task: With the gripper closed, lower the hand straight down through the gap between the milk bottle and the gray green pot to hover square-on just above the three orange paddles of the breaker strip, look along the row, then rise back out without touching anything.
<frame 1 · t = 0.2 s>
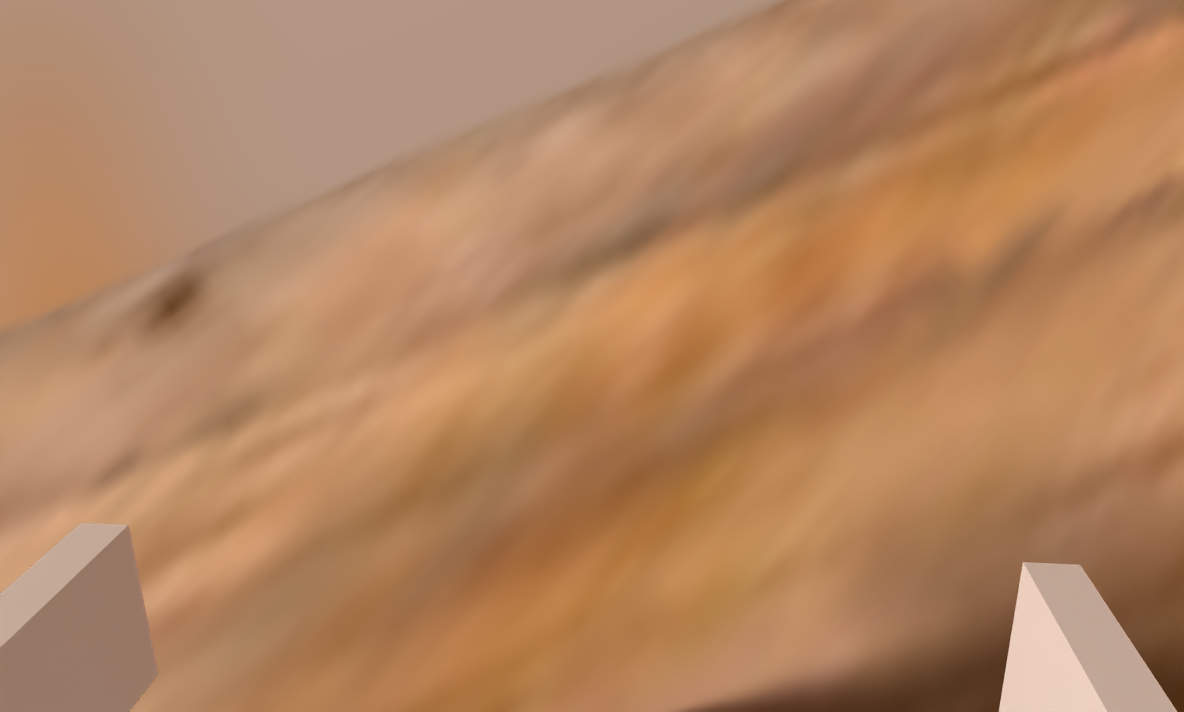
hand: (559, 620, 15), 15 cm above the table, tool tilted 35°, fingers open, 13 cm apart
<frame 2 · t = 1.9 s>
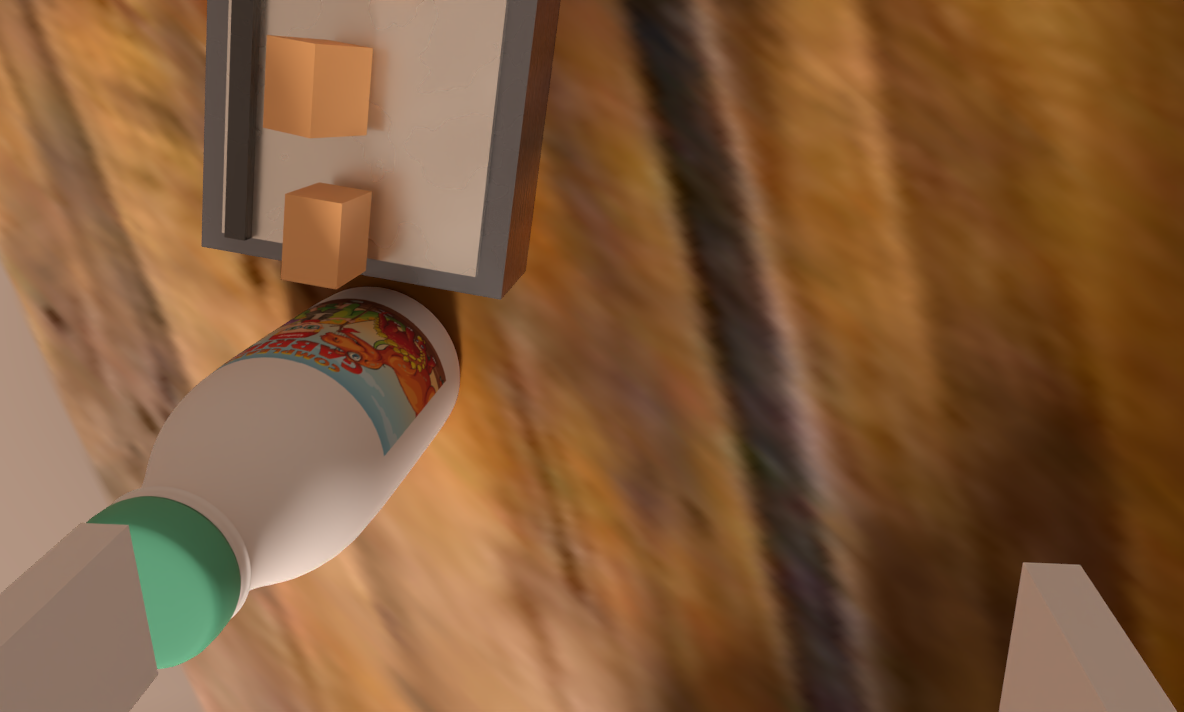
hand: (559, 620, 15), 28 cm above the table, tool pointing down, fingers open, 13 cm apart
breaker strip: (404, 82, 41), on the table
paddle centre: (318, 87, 34), point 7 cm above the table, hinge at 18.0°
paddle near bottle: (327, 234, 35), point 8 cm above the table, hinge at 0.0°
milk bottle: (382, 364, 45), on the table
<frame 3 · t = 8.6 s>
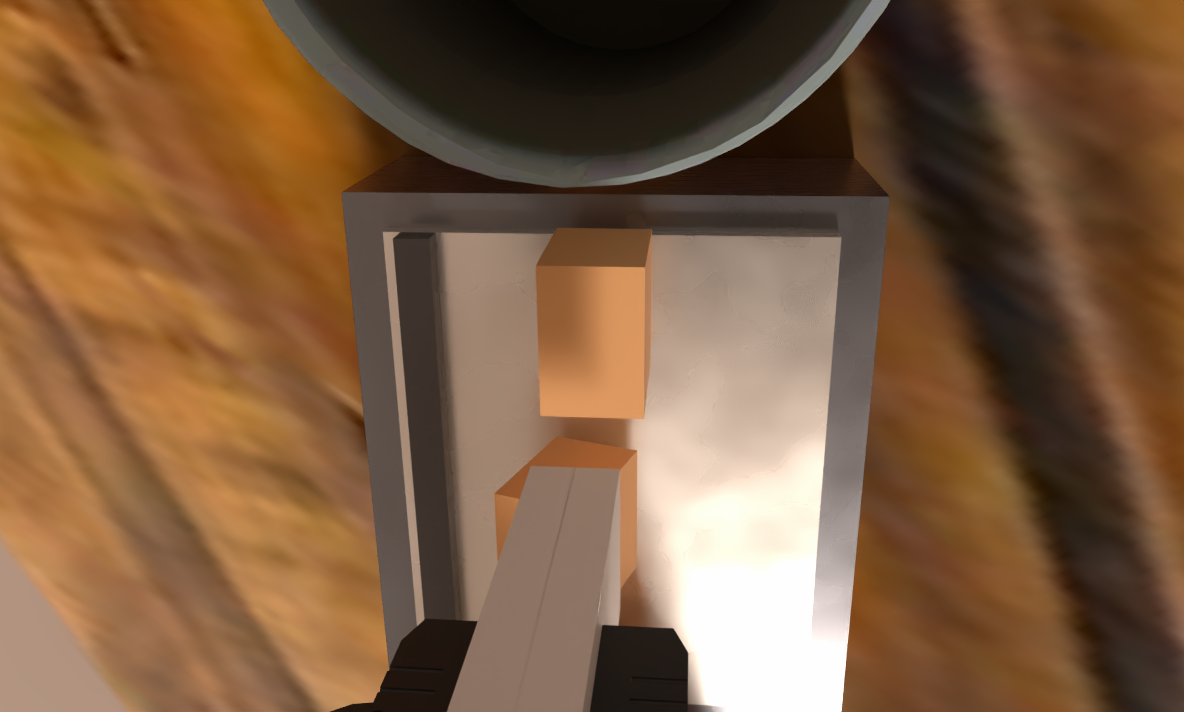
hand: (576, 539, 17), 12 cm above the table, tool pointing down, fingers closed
paddle near glass: (598, 318, 20), point 8 cm above the table, hinge at 0.0°
breaker strip: (623, 400, 29), on the table
paddle centre: (570, 532, 22), point 7 cm above the table, hinge at 18.0°
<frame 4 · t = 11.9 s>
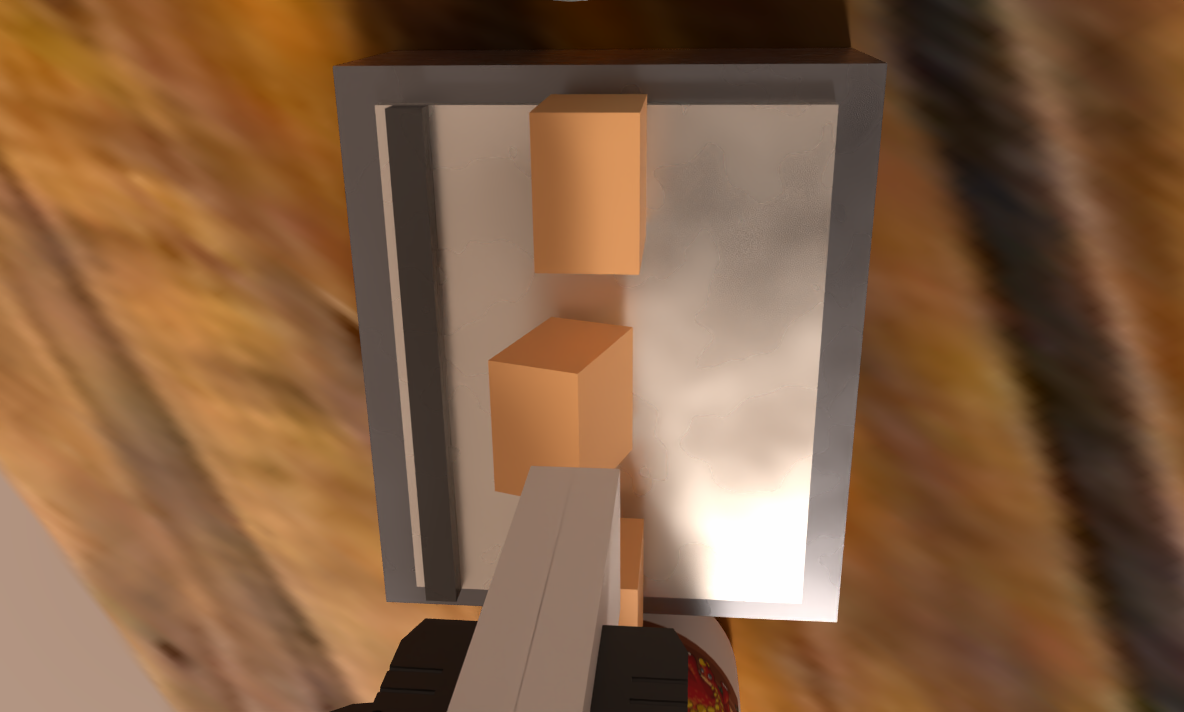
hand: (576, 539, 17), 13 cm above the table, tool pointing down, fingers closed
paddle near glass: (593, 180, 20), point 8 cm above the table, hinge at 0.0°
breaker strip: (619, 303, 29), on the table
paddle centre: (565, 407, 22), point 7 cm above the table, hinge at 18.0°
paddle near bottle: (597, 605, 23), point 8 cm above the table, hinge at 0.0°
milk bottle: (620, 657, 33), on the table
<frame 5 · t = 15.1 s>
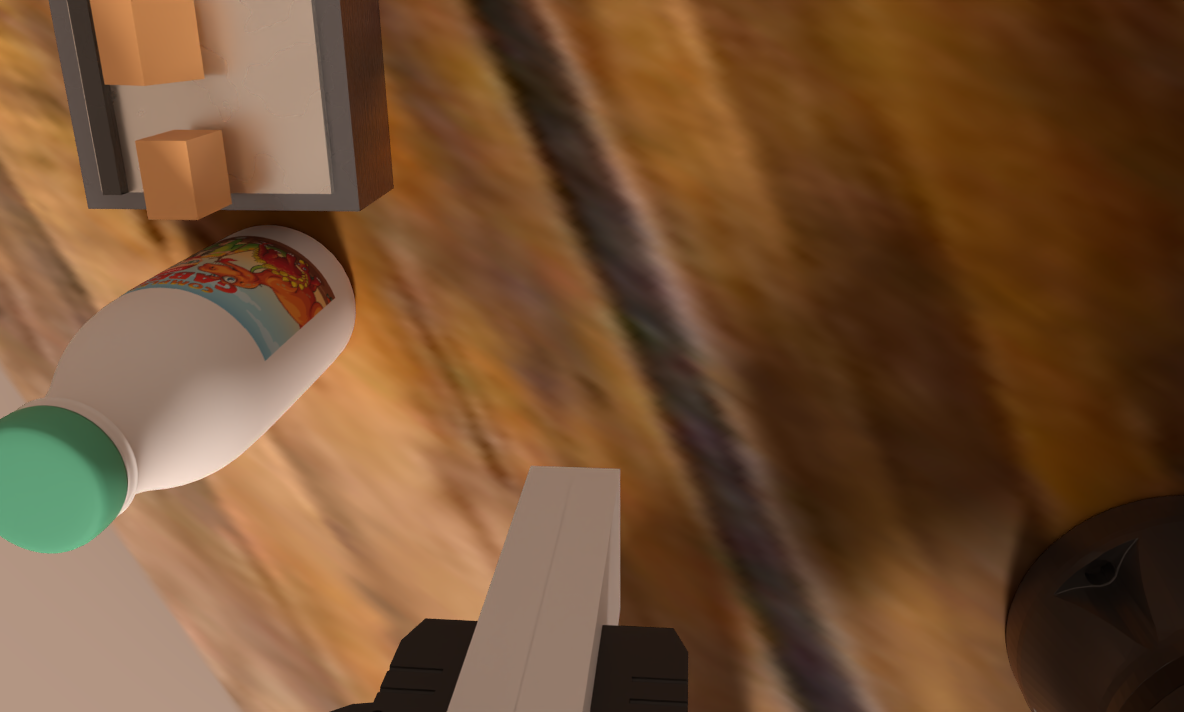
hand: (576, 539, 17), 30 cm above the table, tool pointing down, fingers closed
breaker strip: (249, 31, 44), on the table
paddle centre: (149, 40, 38), point 7 cm above the table, hinge at 18.0°
paddle near bottle: (185, 173, 39), point 8 cm above the table, hinge at 0.0°
milk bottle: (285, 297, 49), on the table
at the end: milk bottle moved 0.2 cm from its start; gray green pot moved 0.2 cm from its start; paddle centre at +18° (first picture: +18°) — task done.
